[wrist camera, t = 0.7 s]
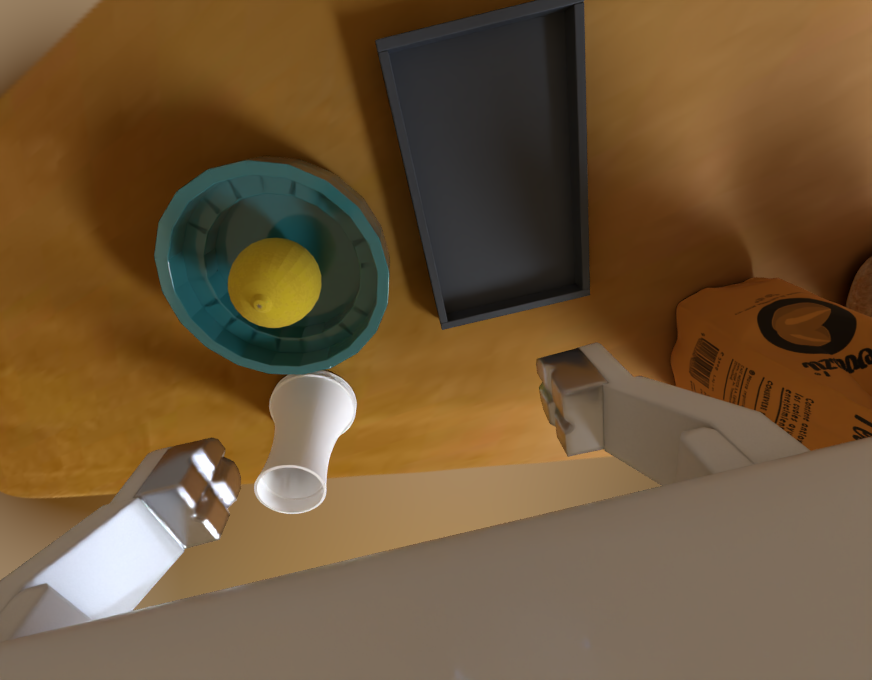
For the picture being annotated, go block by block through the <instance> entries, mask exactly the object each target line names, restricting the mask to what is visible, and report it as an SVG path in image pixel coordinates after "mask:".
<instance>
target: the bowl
mask: <svg viewBox="0 0 872 680" xmlns="http://www.w3.org/2000/svg"><path fill="white" fill-rule="evenodd" d="M267 238H283V239H289V240H291V241H294V242H296V243H298V244H300V245H301V246H303V247H304V248H306V249H307V250H308V251H309V252H310V253H311V254H312V256H313V257H314V259H315V260H316V262H317V264H318V266H319V269H320V273H321V290H320V294H319V298H318V300H317V302H316V303H315V305H314V307H313V308H312V310H311V311H310V312H309V313H308V314H307V315H305V316H304V317H303V318H302V319H301V320H299V321H297V322H295V323H293V324H291V325H289V326H284V327H280V328H268V327H263V326H259V325H256V324H254V323H252V322H250V321H248V320H247V319H246V318H244V317H243V316H242V315H241V314H240V313H239V312H238V311H237V310H236V309H235V307H234V305H233V303H232V302H231V299H230V296H229V292H228V276H229V273H230V270H231V267H232V264H233V262H234V261H235V259H236V258H237V257H238V255H239V254H240V253H241V252H242V251H243V250H244V249H245V248H247V247H248V246H249V245H251V244H252V243H255V242H257V241H260V240H262V239H267ZM154 259H155V263H156V268H157V272H158V276H159V280H160V285H161V289H162V291H163V294H164V296H165V297H166V299H167V301H168V302H169V304H170V306H171V307H172V309H173V311H174V312H175V314H176V316H177V318H178V319H179V321H180V322H181V324H183V325H184V326H185V327H186V328H187V329H188V330H189V331H190V332H191V333H192V334H193V335H194V336H195V337H196V338H197V339H198V340H199V341H200V342H201V343H202V344H203V345H204V346H206V347H207V348H208V349H210V350H212V351H214V352H215V353H217V354H219V355H221V356H223V357H224V358H226V359H228V360H230V361H231V362H233V363H235V364H237V365H239V366H243V367H247V368H250V369H254V370H257V371H261V372H264V373H268V374H289V375H301V374H302V375H304V374H308V373H313V372H317V371H321V370H325V369H330V368H331V367H334V366H336V365H337V364H339V363H341V362H343V361H344V360H346V359H348V358H350V357H351V356H353V355H355V354H356V353H358V352H359V351H360V350H361V349H362V347H363V346H364V345H365V344H366V343H367V342H368V341H369V340H370V338H371V337H372V336H373V335H374V334H375V333H376V331H377V329H378V327H379V324H380V322H381V320H382V317H383V315H384V312H385V310H386V307H387V304H388V292H389V269H390V257H389V252H388V248H387V245H386V241H385V237H384V234H383V230H382V227H381V225H380V223H379V222H378V220H377V218H376V217H375V215H374V214H373V212H372V211H371V209H370V208H369V206H368V204H367V203H366V201H365V200H364V198H363V197H362V196H361V195H359V194H358V193H357V192H356V191H355V190H354V189H352V188H351V187H350V186H349V185H348V184H347V183H345V182H344V181H343V180H342V179H341V178H340V177H338V176H337V175H335V174H334V173H332V172H329V171H327V170H325V169H323V168H320V167H318V166H316V165H314V164H311V163H309V162H307V161H304V160H301V159H295V158H285V157H275V156H260V157H256V158H251V159H247V160H243V161H239V162H234V163H230V164H226V165H222V166H218V167H214V168H210V169H208V170H205V171H204V172H203V173H201V174H200V175H198V176H197V177H196V178H194V179H193V180H191V181H190V182H189V183H187V184H186V185H184V186H183V187H182V188H180V189H179V190H178V191H177V192H176V193H175V195H174V197H173V198H172V200H171V202H170V203H169V205H168V207H167V208H166V210H165V212H164V213H163V215H162V217H161V219H160V220H159V223H158V230H157V237H156V245H155V253H154Z"/></svg>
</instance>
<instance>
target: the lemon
mask: <svg viewBox="0 0 872 680" xmlns="http://www.w3.org/2000/svg"><path fill="white" fill-rule="evenodd" d="M320 290H321V273H320V269H319V266H318V264H317V262H316V260H315V259H314V257H313V256H312V254H311V253H310V252H309V251H308V250H307V249H306V248H304V247H303V246H301V245H300V244H298V243H296V242H294V241H291V240H289V239H283V238H267V239H262V240H260V241H257V242H255V243H252V244H251V245H249V246H248V247H247V248H245V249H244V250H243V251H242V252H241V253H240V254H239V255H238V257H237V258H236V259H235V261H234V262H233V264H232V267H231V270H230V273H229V276H228V292H229V296H230V299H231V302H232V303H233V305H234V307H235V309H236V310H237V311H238V312H239V313H240V314H241V315H242V316H243V317H244V318H246V319H247V320H248V321H250V322H252V323H254V324H256V325H259V326H263V327H268V328H280V327H284V326H289V325H291V324H293V323H295V322H297V321H299V320H301V319H302V318H303V317H304V316H305V315H307V314H308V313H309V312H310V311H311V310H312V308H313V307H314V305H315V303H316V302H317V300H318V298H319V294H320Z"/></svg>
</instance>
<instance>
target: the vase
mask: <svg viewBox="0 0 872 680" xmlns="http://www.w3.org/2000/svg"><path fill="white" fill-rule="evenodd" d="M356 406H357V403H356V397H355V394H354V392H353V390H352V388H351V387H350V386H349V384H348V383H347V382H346V381H344V380H343V379H342V378H340V377H339V376H337V375H335V374H333V373H331V372H328V371H324V370H321V371H317V372H313V373H308V374H304V375H302V374H301V375H289V374H288V375H287V376H285V377H284V378H283V379H281V380H280V381H279V382H278V384H277V385H276V387H275V389H274V391H273V393H272V395H271V398H270V402H269V410H270V414H271V417H272V419H273V421H274V422H275V436H274V441H273V446H272V449H271V452H270V455H269V457H268V460H267V462H266V464H265V466H264V468H263V470H262V471H261V473H260V475H259V476H258V478H257V480H256V482H255V485H254V490H255V494H256V497H257V498H258V500H259V501H260V502H261V503H262V504H263V505H265V506H266V507H268V508H270V509H272V510H274V511H277V512H281V513H288V514H297V513H303V512H307V511H310V510H312V509H314V508H316V507H317V506H319V505H320V504H321V503H322V502H323V500H324V498H325V496H326V478H327V468H328V463H329V458H330V455H331V452H332V449H333V447H334V444H335V442H336V440H337V439H338V437H339V436H340V435H341V434H343V433H344V432H345V431H347V430H348V429H349V427H350V426H351V425H352V423H353V421H354V418H355V414H356Z"/></svg>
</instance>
